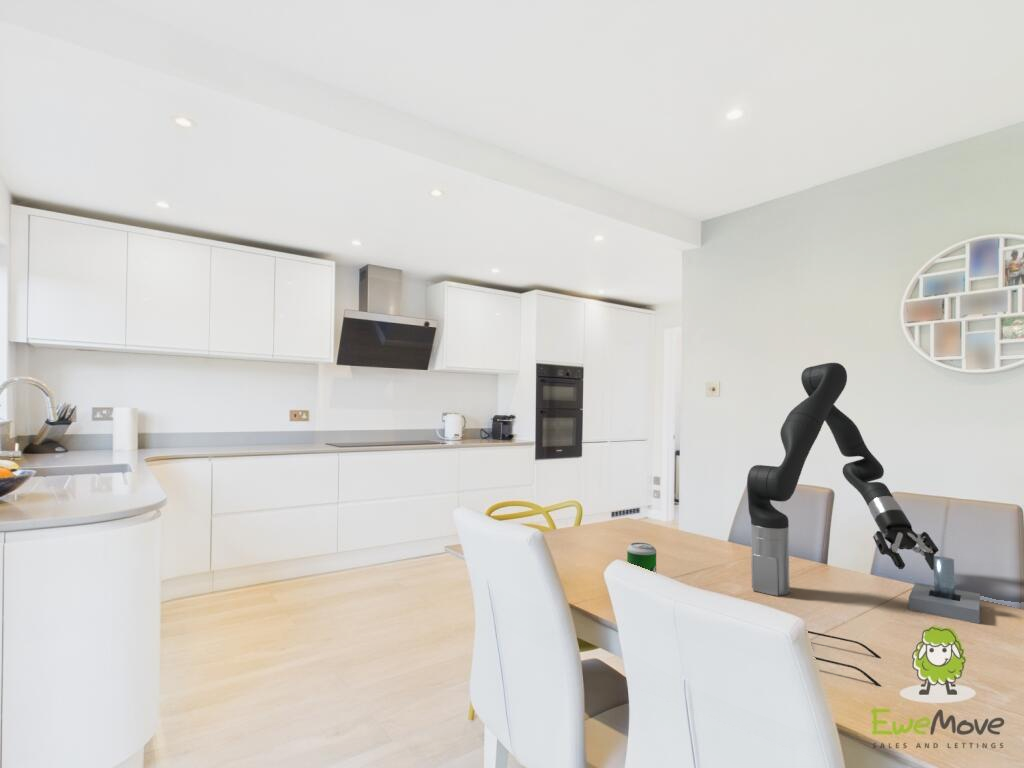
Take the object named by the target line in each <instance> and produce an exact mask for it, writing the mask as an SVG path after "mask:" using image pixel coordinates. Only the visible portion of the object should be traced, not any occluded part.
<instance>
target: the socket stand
mask: <svg viewBox="0 0 1024 768" xmlns="http://www.w3.org/2000/svg"><path fill="white" fill-rule="evenodd" d="M908 610H909V611H914V612H918V613H919V612H920V613H923V614H928V615H933V616H939V617H943V618H948V619H954V620H960V621H964V622H969V623H972V624H978V625H979V624H980V622H981V621H980V620H981V594H980V593H978V592H974V591H973V592H972V591H967V590H966V591H965V590H961V589H960V590H959V589H957V588H955V600H950V599H945V598H939V597H934V584H933V585H931V584H927V583H920V582H915V583H914V584H913V587H912V589H911V591H910V593H909V595H908Z"/></svg>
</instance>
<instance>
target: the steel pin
mask: <svg viewBox="0 0 1024 768" xmlns="http://www.w3.org/2000/svg"><path fill="white" fill-rule="evenodd" d="M933 563H934V570H933V586H934V597H939V598H945V599H950V600H955V589H956V586H955V582H956V581H955V559H953V558H951V557H948V556H936V555H934V557H933Z"/></svg>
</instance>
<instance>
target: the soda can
mask: <svg viewBox="0 0 1024 768" xmlns="http://www.w3.org/2000/svg"><path fill="white" fill-rule="evenodd" d="M626 549H627V550H626V554H627V555H626V556H627V557H626V559H627V560H626V561H627V562H629V563H631V564H634V565H637V566H640V567H642V568H645V569H648V570H650V571H653V572H656V573H657V549H656V548H655V547H654V545H653V544H652V543H648V542H641V541H640V542H637V541H636V542H632V543H630V545H629V546H627V548H626Z"/></svg>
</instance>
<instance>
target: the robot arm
mask: <svg viewBox="0 0 1024 768" xmlns="http://www.w3.org/2000/svg"><path fill="white" fill-rule="evenodd" d="M800 376H801V377H800V379H801V384H802V387H803V389H804V391H805V393H806V394H807V396H808V397H806V398H805V399H804V400H802V401H801V402H799V404H797V405H796V406H795V407H794V408H793V409H791V411H789V413H788V414H787V416H786V418H785V420H784V422H783V424H782V426H781V428H780V440H781V443H782V446H783V449H784V451H785V456H784V458H783V461H782V462H781V464H780V465H779V466H774V465H762V464H756V465H753V466H752V467H750V470H749V471H748V474H747V479H746V491H747V501H748V502H747V503H748V504H747V506H748V513H749V518H750V529H751V530H750V532H751V533H750V534H751V535H750V536H751V537H750V540H751V541H750V543H751V544H750V547H751V548H750V550H751V551H750V552H751V558H750V559H751V588H752V591H753V592H754V591H755V592H758V593H762V594H766V595H767V594H768V595H772V596H777V597H778V596H782V595H783V596H785V595H788V594H790V590H791V589H790V588H791V587H790V548H789V547H790V545H789V544H790V542H789V541H790V538H789V534H790V533H789V531H790V530H789V529H790V528H789V527H790V526H789V522H790V521H789V517H788V516H787V515H786V514H785V513H783V512H782V511H779V510H778V509H777V508H776V507H774V505H773V504H772V503H771V501H774V502H788V501H789V500H790V499H791V498H792V496H793V495H794V493H795V490H796V489H797V485H798V482H799V480H800V477H801V474H802V470H803V468H804V466H805V462H806V461H807V459H808V458H807V457H808V456H809V454H810V451H811V450H812V447H813V446H814V444H815V442H816V440H817V438H818V436H819V434H820V431H821V430H822V427H823V425H824V422H825V423H826V424H827V426H828V427H829V429H830V432H831V434H832V437H833V438H834V440H835V442H836V444H837V447H838V449H839V451H840V454H841V455H842V456H844V457H846V458H853V457H862V458H860V459H857V460H854V461H851V462H847V463H845V464H844V465H843V467H842V475H843V476H844V478H845V480H846V481H847V482H848V483H849V484H850V485H851V486H852V487H853V488H854V489H856V490H857V492H858V493H859V494H860V495H861V496H862V498H863V499H864V501H865V504H866V505H867V507H868V509H869V511H870V514H871V516H872V518H873V520H874V522H875V523H876V525H877V527H878V529H879V530H877V531H876V532H875V533H874V534H873V536H872V538H873V540H874V543H875V545H876V546H877V548H878V551H879V553H880V554H881V555H883V556H885V555H887V556H888V557H890V558H891V560H892V563H893V564H894V566H895V567H896V568H898V570H903V569H904V568H905V567H906V563H905V562H904V560H903V558H902V556H901V555H900V553H899V552H898V549H899V550H912V551H913V552H915V553H918V554H920V555H921V556H923V557H924V560H925V562H926V563H927V564H928V566H929V568H930V570H931V571H934V563H933V557H934V556H936V554H937V553H938V552H939V548H938V546H937V545H936V544H935V543H934V541H933V540H932V538H931V537H930V535H929V534H928V533H927V531H923V532H922V533H916V532H915V531H914V530H913V527H912V523H911V522H910V521H909V519H908V517H907V516H906V514H905V512H904V510H903V509H902V507H901V505H900V504H899V503H898V502H897V501H896V499H895V498H894V496H893V494H892V493H891V491H890V489H889V487H888V486H887V485H886V484H885V483H884V482H881V481H880V482H879V481H878V480H879V479H882V478H883V476H884V474H885V470H884V466H883V465H882V464H881V463H880V461H879V460H878V459H877V458H876V457H875V456H874V454H873V453H872V452H871V451H870V449H869V448H868V446H867V445H866V443H865V441H864V438H863V436H862V434H861V432H860V429H859V427H858V426H857V424H856V423H855V422H854V421H853V420H852V419H851V418H850V417H849V416H848V415H846V414H845V413H844V412H843V411H841V410H840V409H839V408H838V407H837V406H836V405H835V403H836V402H837V400H838V399H839V398H840V396H841V394H842V393H843V391H844V390H845V388H846V385H847V382H848V373H847V370H846V367H844V365H842V364H841V363H838V362H828V363H827V362H825V363H822V364H817V365H814V366H809V367H806V368H804V369H803V371H802V373H801V375H800ZM876 480H877V481H876ZM886 541H887V542H888V543H889V544H890V545H889V546H888V543H887V542H886ZM917 545H918V547H917Z"/></svg>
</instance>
